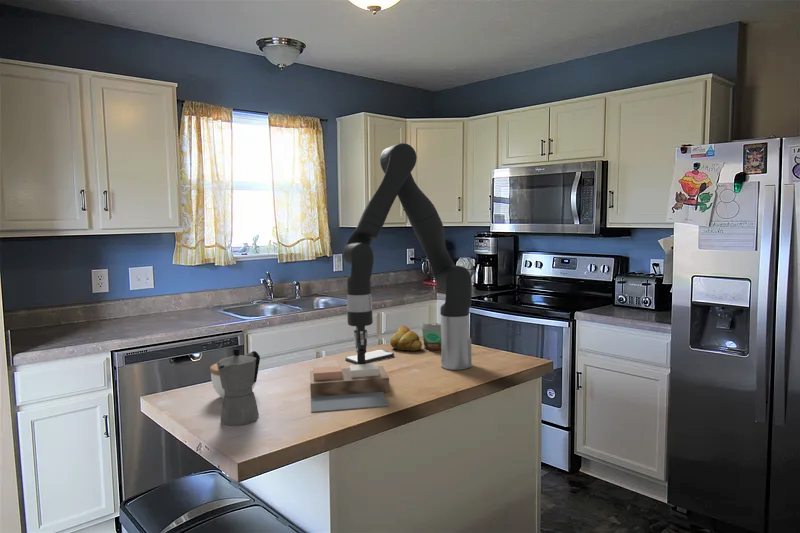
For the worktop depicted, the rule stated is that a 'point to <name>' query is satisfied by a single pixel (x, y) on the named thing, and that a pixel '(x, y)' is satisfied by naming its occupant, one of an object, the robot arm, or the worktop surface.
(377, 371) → the tile cream
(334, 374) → the tile terracotta
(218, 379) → the lidded bowl
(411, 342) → the bread roll
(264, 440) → the worktop surface
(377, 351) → the phone case
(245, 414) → the coffeepot
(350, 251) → the robot arm
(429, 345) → the food container
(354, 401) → the rubber mat
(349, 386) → the walnut board
